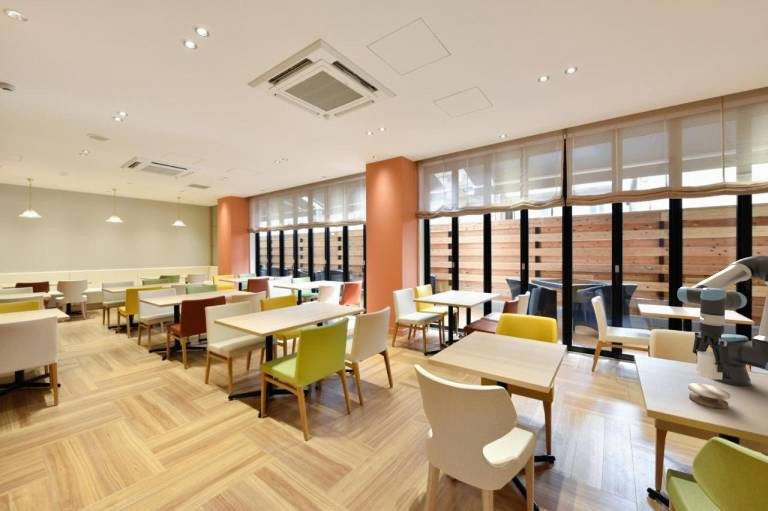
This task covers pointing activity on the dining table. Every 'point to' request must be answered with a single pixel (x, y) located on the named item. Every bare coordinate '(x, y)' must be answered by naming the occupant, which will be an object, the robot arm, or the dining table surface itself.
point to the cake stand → (708, 396)
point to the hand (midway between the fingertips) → (709, 374)
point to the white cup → (706, 364)
